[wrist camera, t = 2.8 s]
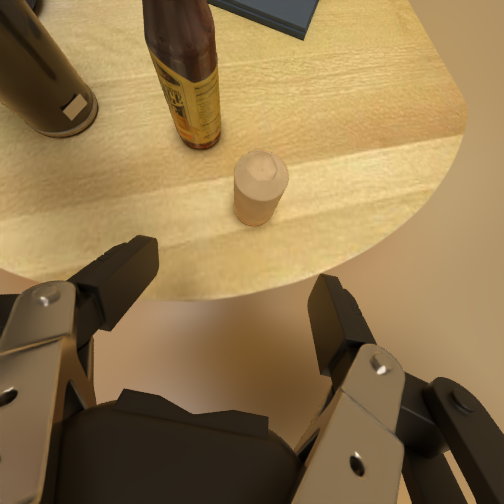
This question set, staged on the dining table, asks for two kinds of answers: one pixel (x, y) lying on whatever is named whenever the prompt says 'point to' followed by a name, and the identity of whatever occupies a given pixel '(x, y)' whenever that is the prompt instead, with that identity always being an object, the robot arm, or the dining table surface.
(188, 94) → the sauce bottle
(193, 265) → the dining table surface
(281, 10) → the dark grey rectangular slab
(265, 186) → the candle
